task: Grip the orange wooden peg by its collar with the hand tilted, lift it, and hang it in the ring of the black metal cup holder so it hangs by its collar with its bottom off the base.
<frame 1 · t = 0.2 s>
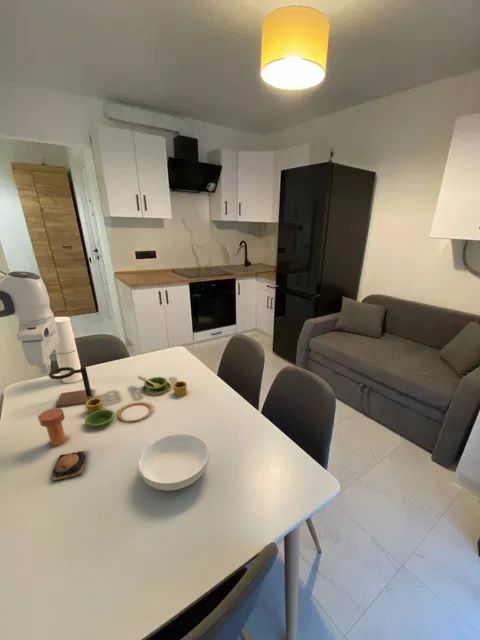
hand: (50, 365, 95), 27 cm above the table, tool pointing down, fingers open, 8 cm apart
open sandwich: (70, 466, 91), on the table
cup holder: (68, 399, 124), on the table
container: (72, 378, 141), on the table
serving bowl: (176, 472, 91), on the table
orange wooden peg: (58, 441, 101), on the table
tableware set: (139, 403, 126), on the table
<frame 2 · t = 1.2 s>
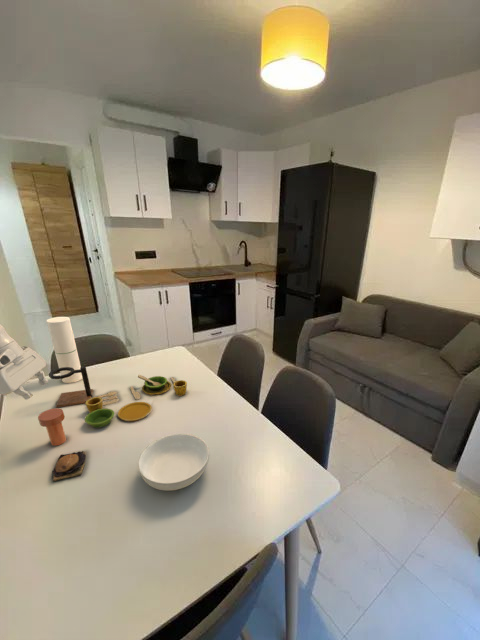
hand: (37, 390, 95), 19 cm above the table, tool tilted 25°, fingers open, 8 cm apart
tableware set: (139, 402, 126), on the table, touching cup holder
everything else where it was.
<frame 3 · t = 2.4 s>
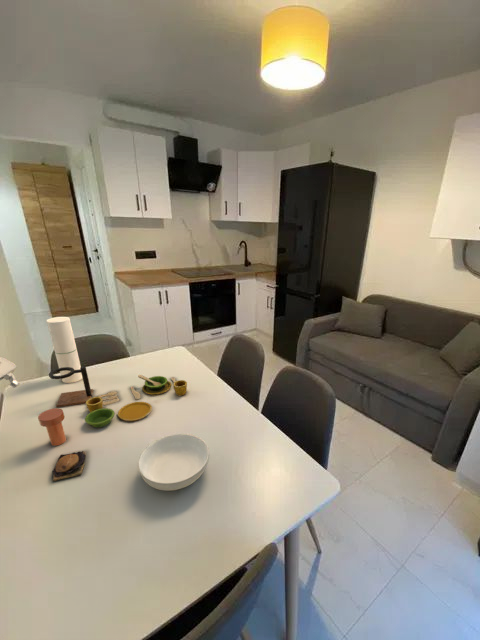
hand: (6, 393, 93), 19 cm above the table, tool tilted 45°, fingers open, 8 cm apart
nothing on the table moved.
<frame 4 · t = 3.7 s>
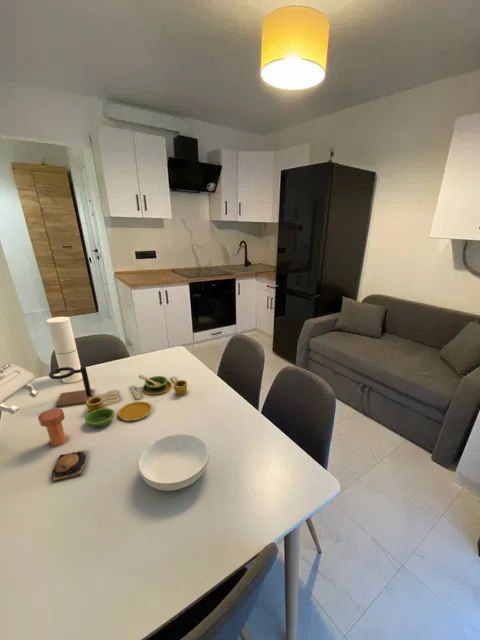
hand: (26, 403, 95), 16 cm above the table, tool tilted 45°, fingers open, 8 cm apart
nothing on the table moved.
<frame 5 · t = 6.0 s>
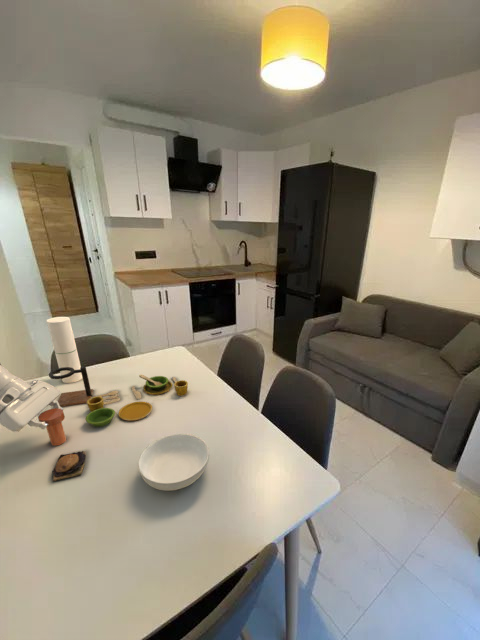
hand: (54, 419, 97), 9 cm above the table, tool tilted 45°, fingers closed on orange wooden peg, 7 cm apart
orange wooden peg: (58, 441, 101), on the table, touching gripper
everything else where it was.
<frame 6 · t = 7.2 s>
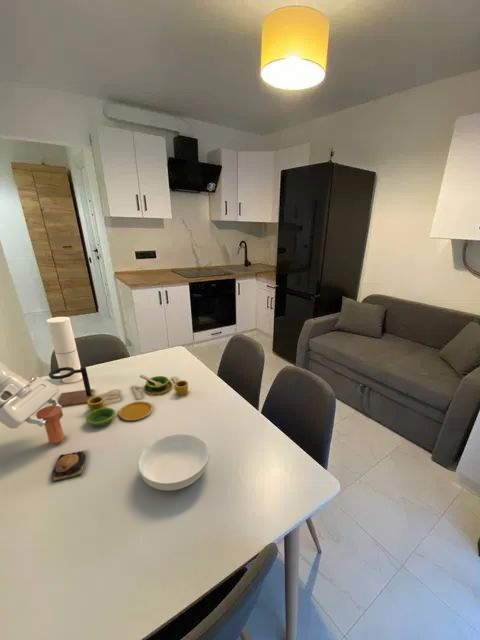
hand: (52, 416, 97), 11 cm above the table, tool tilted 45°, fingers closed on orange wooden peg, 7 cm apart
orange wooden peg: (56, 438, 101), point 1 cm above the table, touching gripper
everything else where it was.
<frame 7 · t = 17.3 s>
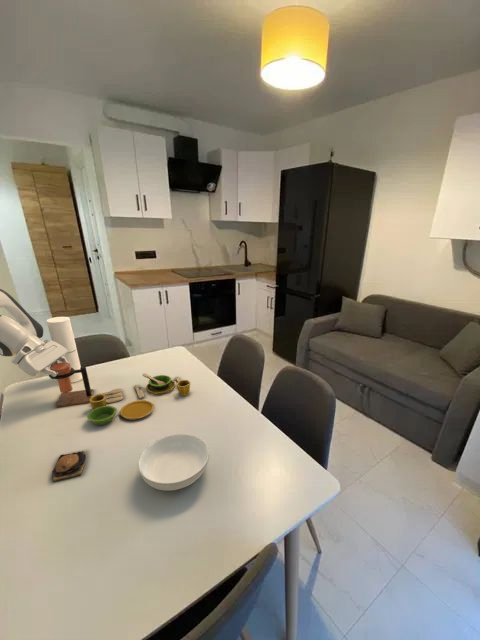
hand: (62, 370, 119), 14 cm above the table, tool tilted 45°, fingers closed on orange wooden peg, 7 cm apart
orange wooden peg: (66, 390, 122), point 5 cm above the table, touching gripper
tableware set: (142, 401, 126), on the table
everything else where it was.
when the fingers open (16 cm above the table, at t = 30.6 s): orange wooden peg drops 2 cm, resting on cup holder.
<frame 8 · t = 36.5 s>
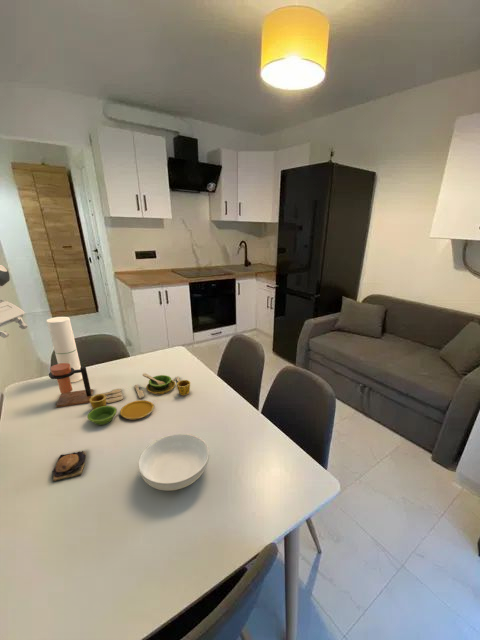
hand: (16, 331, 109), 31 cm above the table, tool tilted 45°, fingers open, 8 cm apart
orange wooden peg: (66, 390, 122), point 4 cm above the table, touching cup holder
everything else where it was.
at the end: orange wooden peg 0.1 cm off-centre on the cup holder, point 4.5 cm above the cup holder's base; orange wooden peg tilted 0°; orange wooden peg touching cup holder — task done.
